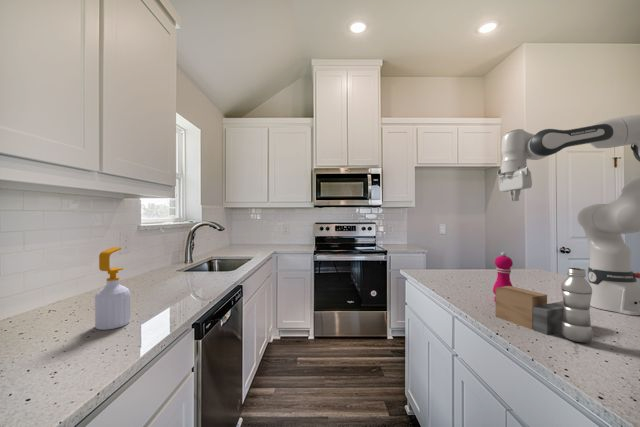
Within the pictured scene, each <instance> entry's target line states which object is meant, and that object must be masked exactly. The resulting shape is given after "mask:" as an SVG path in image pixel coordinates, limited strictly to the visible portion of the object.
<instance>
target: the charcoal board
mask: <svg viewBox="0 0 640 427" xmlns="http://www.w3.org/2000/svg"><path fill="white" fill-rule="evenodd" d="M563 313H564V304H563V300H562V301H557V302H550V303H547V304H545V305H539V306H534V307H533V330H532V331H535V332H538V333H541V334H544V335H546V336H548V335H552V334H555V333H560V332H561V333H562V331H561V325H562V321H563Z"/></svg>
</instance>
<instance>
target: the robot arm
mask: <svg viewBox="0 0 640 427" xmlns="http://www.w3.org/2000/svg"><path fill="white" fill-rule="evenodd" d="M588 144H589V145H591V146H592V147H594V148H595V149H611V148H617V147H623V146H624V147H625V146H628V145H630V150H631V151H632V153H633V156H634V158H635V160H637V162H639V163H640V114H632V115H624V116H619V117H614V118H610V119H609V118H608V119H607V120H603V121H600V122H597V123H595V124H592V125H588V126H585V127H583V126H582V127H578V128H571V129H566V130H565V129H555V128H545V129H543V130H540V131H538V132H537V133H536V134H533V133H531V132H528V131H526V130H524V129H523V128H520V129H519V128H518V129H513V130H511V131H509V132H506V133H505V134H504V135H503V136H502V137H501V155H502V160H501V166H500V168H499V169H498V170H497V172H496V174H497V176H498V190H499V192H500V193H503V192H504V193H506V192H507V193H508V194H509V197H510V201H511V202H518V201H519V200H520V199H519V198H520V195H521V190H527V189H531V188H532V187H533V180H532V179H533V178H532V173H531V171H530V170H529V167H528V165H527V160H528V161H529V160H531V161H538V160H542V159H544V158H546V157H549V156H552V155H554V154H557V153H559V152H560V151H562V150H563V149H565V148H570V147H575V146H581V145H588ZM576 220H577V222H578V224H579V225H580V226H581V227H582V229H583V231H584V233H585V237H586V239H587V243H588V248H589V267H588V268H587V269H588V270H587V280H588V283H589V284H590V286H591V288H592V297H591V302H590V307H592V308H596V309H600V310H604V311H610V312H614V313H620V314H624V315H629V316H640V283H639V282H638V280H637V279H640V272H636V273H635V272H633V271H632V251H631V248H630V247H629V246H628V245H627V244H626V242H625V241H624V238H623V235H626V234H627V235H628V234H633V233H639V232H640V175H638V176H637V177H635V178H634V179H633V180H631V181H630V182H629V183H627V184H626V185H625V186H624V187H623V188H622V189H621V194H620V195H619V197H617V199H615V200H614V201H611V202H609V203H597V204H596V203H595V204H591V205H589V206H586V207H584V208H582V209H581V210H579V212H578V214H577V219H576Z"/></svg>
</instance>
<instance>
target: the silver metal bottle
mask: <svg viewBox="0 0 640 427" xmlns="http://www.w3.org/2000/svg"><path fill="white" fill-rule="evenodd" d="M566 275H567V278H565V279H564V280H563V281H562V282H561V284H560V289H561V295H562V301H563V304H564V313H563V321H562V325H561V334H562V335H563V337H564V338H566V339H567V340H569V341H573V342H577V343H582V344H583V343H584V344H585V343H587V344H588V343H590V342H592V340H593V338H594V332H593V331H594V330H593V328H592V322H591V314H590V313H591V310H590V309H591V306H590V302H591V297H592V288H591V286H590V284H589V281H588V280H586V277H587V272H586V269H585V268H578V267H567V274H566Z"/></svg>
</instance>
